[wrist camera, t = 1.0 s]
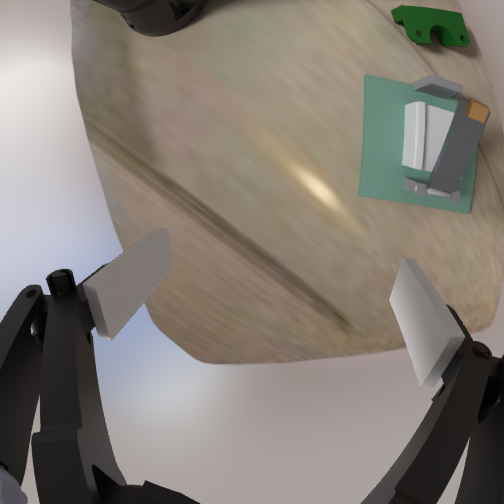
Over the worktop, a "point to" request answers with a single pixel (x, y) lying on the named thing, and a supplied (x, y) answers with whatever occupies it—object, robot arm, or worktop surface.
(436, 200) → the board
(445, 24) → the clamp
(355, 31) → the worktop surface
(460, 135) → the grey flat bar
